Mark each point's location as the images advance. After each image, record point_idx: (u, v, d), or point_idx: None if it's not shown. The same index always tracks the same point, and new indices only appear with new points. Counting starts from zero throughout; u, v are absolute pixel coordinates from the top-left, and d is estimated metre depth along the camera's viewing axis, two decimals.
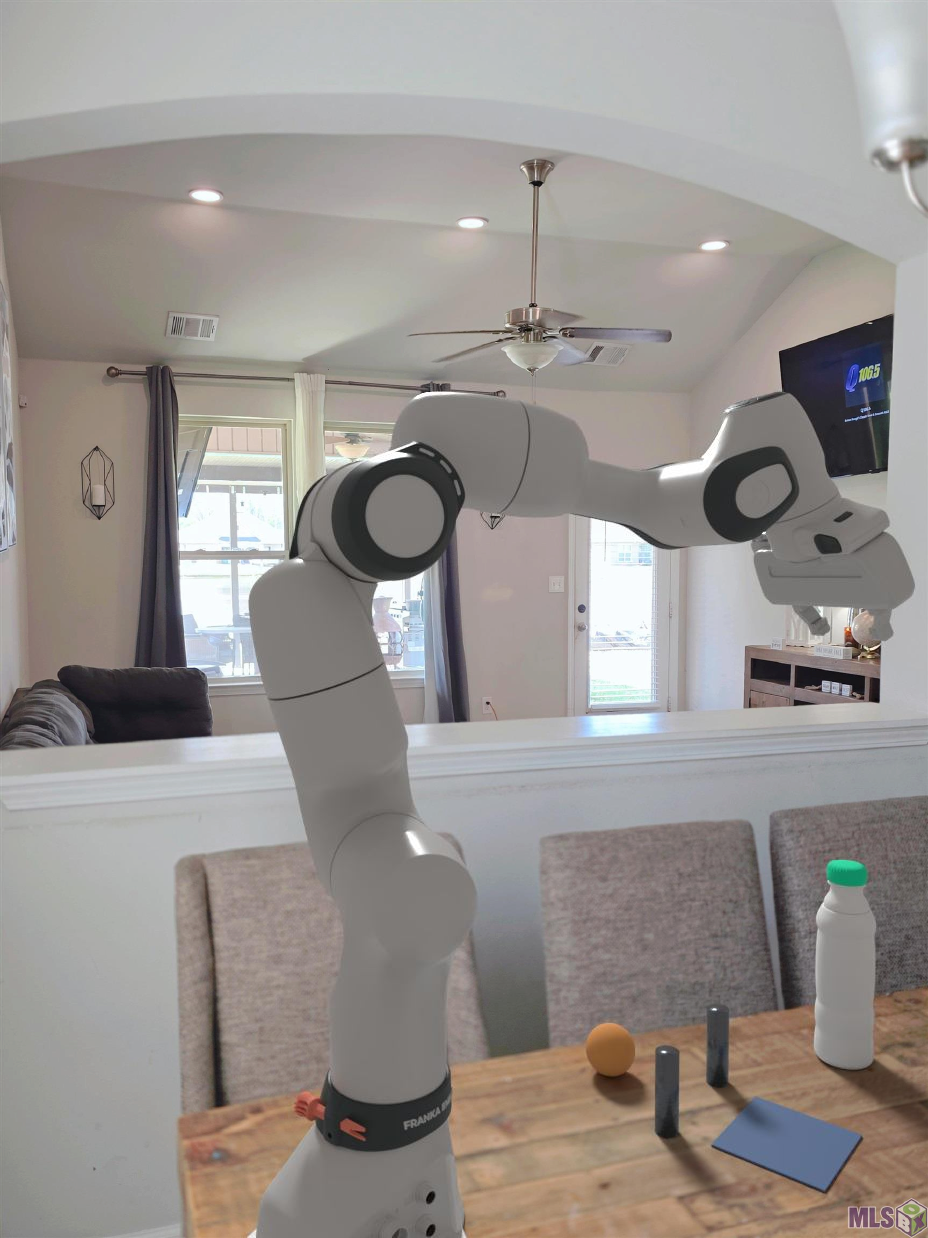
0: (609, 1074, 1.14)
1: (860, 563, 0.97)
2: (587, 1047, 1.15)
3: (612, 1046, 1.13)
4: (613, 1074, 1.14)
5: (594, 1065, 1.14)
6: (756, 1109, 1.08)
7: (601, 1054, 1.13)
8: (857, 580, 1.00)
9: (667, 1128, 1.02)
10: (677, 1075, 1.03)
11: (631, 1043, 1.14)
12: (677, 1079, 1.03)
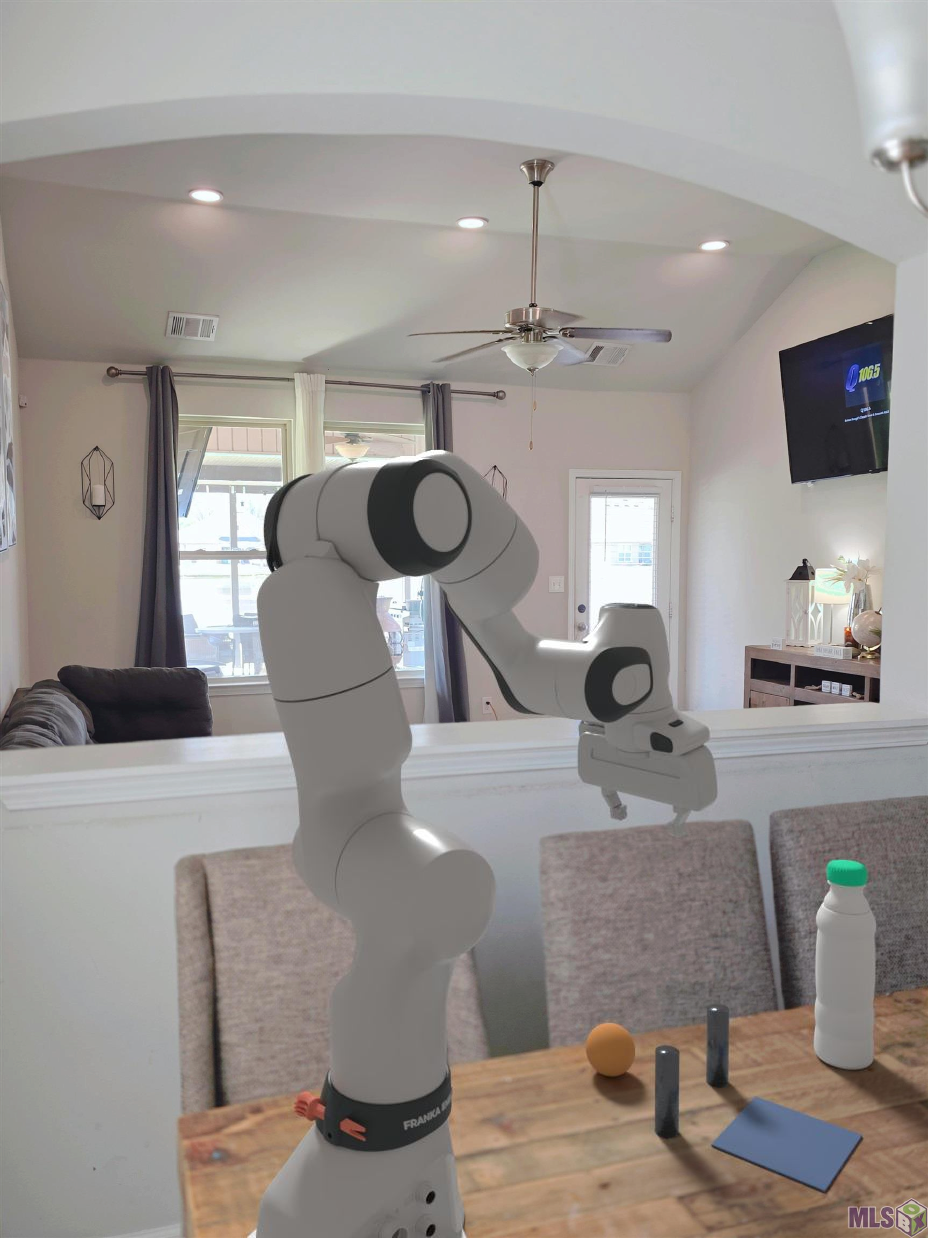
0: (609, 1074, 1.14)
1: (684, 766, 1.13)
2: (587, 1047, 1.15)
3: (612, 1046, 1.13)
4: (613, 1074, 1.14)
5: (594, 1065, 1.14)
6: (756, 1109, 1.08)
7: (601, 1054, 1.13)
8: (674, 780, 1.16)
9: (667, 1128, 1.02)
10: (677, 1075, 1.03)
11: (631, 1043, 1.14)
12: (677, 1079, 1.03)
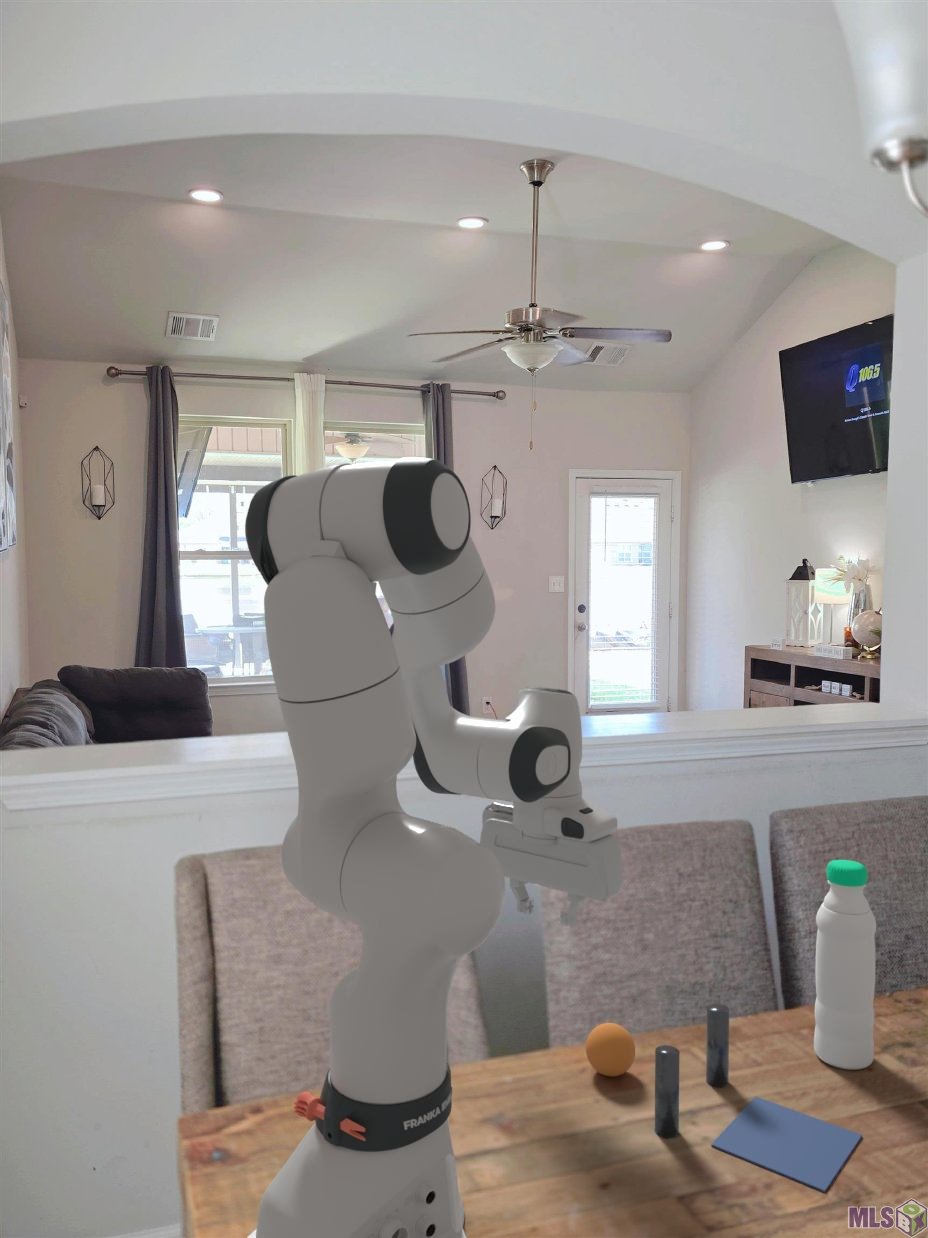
0: (609, 1074, 1.14)
1: (593, 853, 1.13)
2: (587, 1047, 1.15)
3: (612, 1046, 1.13)
4: (613, 1074, 1.14)
5: (594, 1065, 1.14)
6: (756, 1109, 1.08)
7: (601, 1054, 1.13)
8: (581, 868, 1.15)
9: (667, 1128, 1.02)
10: (677, 1075, 1.03)
11: (631, 1043, 1.14)
12: (677, 1079, 1.03)
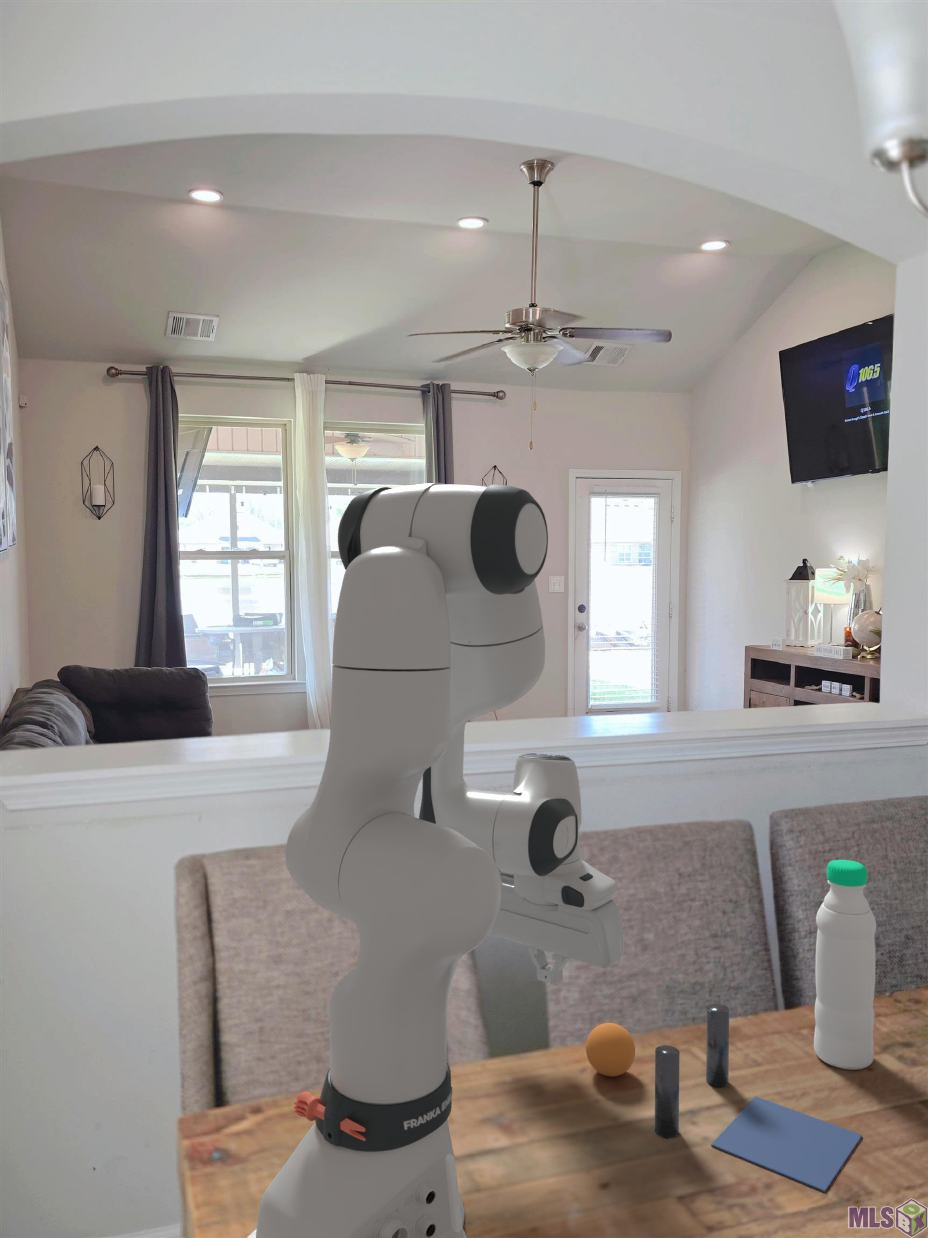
0: (609, 1074, 1.14)
1: (594, 921, 1.14)
2: (587, 1047, 1.15)
3: (612, 1046, 1.13)
4: (613, 1074, 1.14)
5: (594, 1065, 1.14)
6: (756, 1109, 1.08)
7: (601, 1054, 1.13)
8: (582, 935, 1.16)
9: (667, 1128, 1.02)
10: (677, 1075, 1.03)
11: (631, 1043, 1.14)
12: (677, 1079, 1.03)
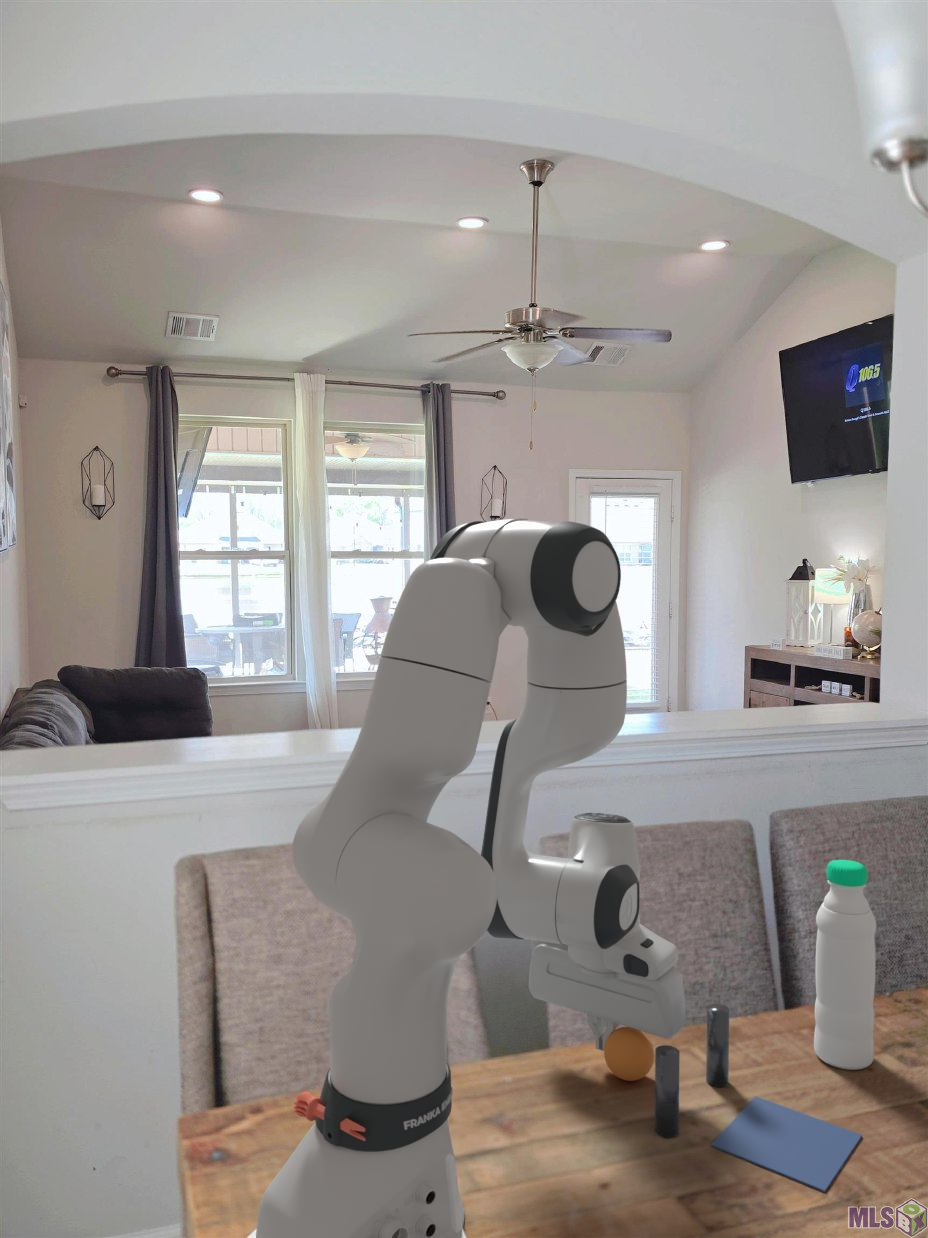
0: (621, 1077, 1.13)
1: (659, 991, 1.10)
2: (607, 1045, 1.14)
3: (632, 1053, 1.12)
4: (625, 1079, 1.13)
5: (609, 1064, 1.13)
6: (756, 1109, 1.08)
7: (619, 1058, 1.12)
8: (644, 1004, 1.12)
9: (667, 1128, 1.02)
10: (677, 1075, 1.03)
11: (652, 1056, 1.13)
12: (677, 1079, 1.03)
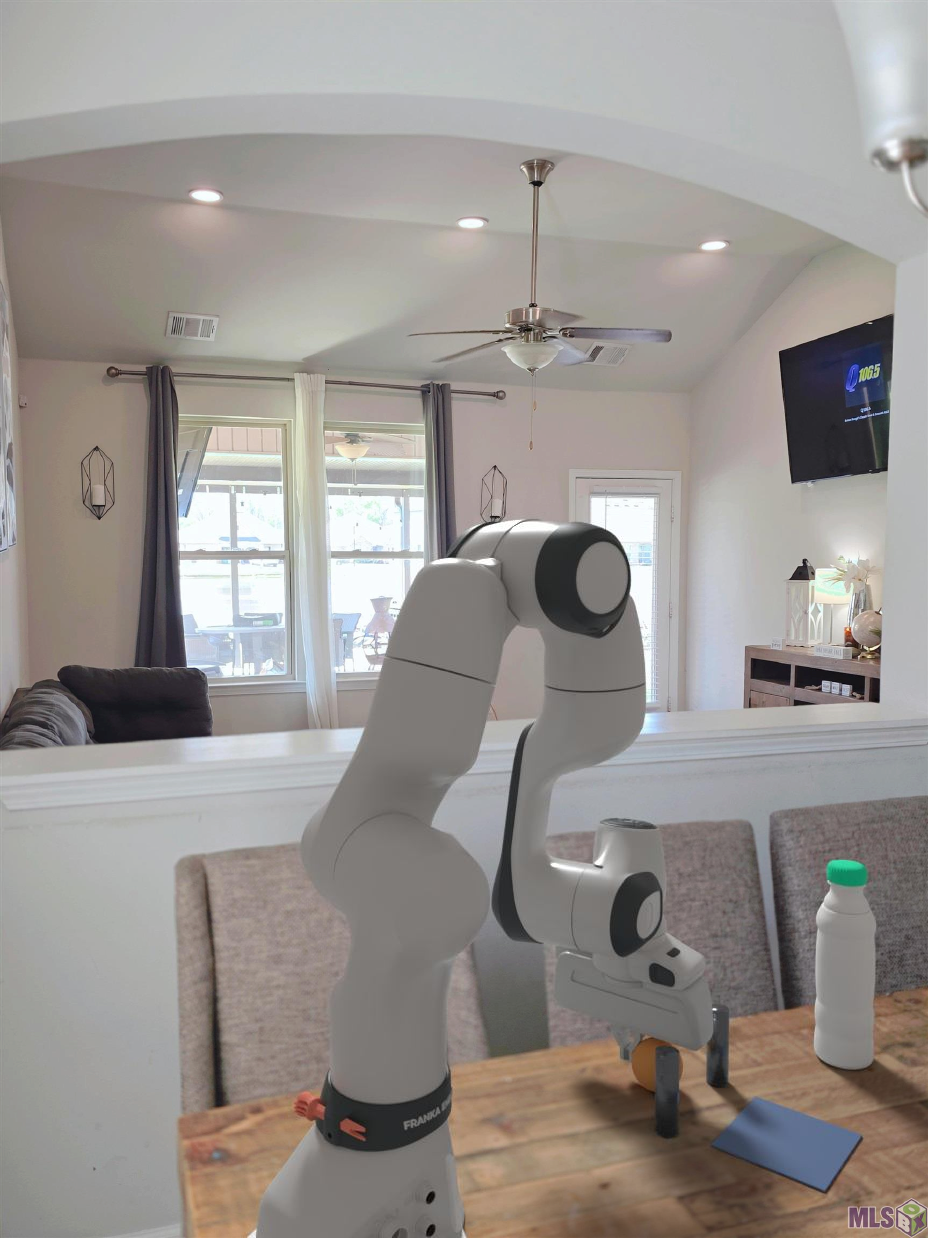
0: (650, 1089, 1.10)
1: (685, 1002, 1.07)
2: (635, 1056, 1.12)
3: None
4: None
5: (638, 1076, 1.11)
6: (756, 1109, 1.08)
7: (649, 1069, 1.10)
8: (670, 1015, 1.09)
9: (667, 1128, 1.02)
10: (677, 1075, 1.03)
11: (681, 1066, 1.11)
12: (677, 1079, 1.03)
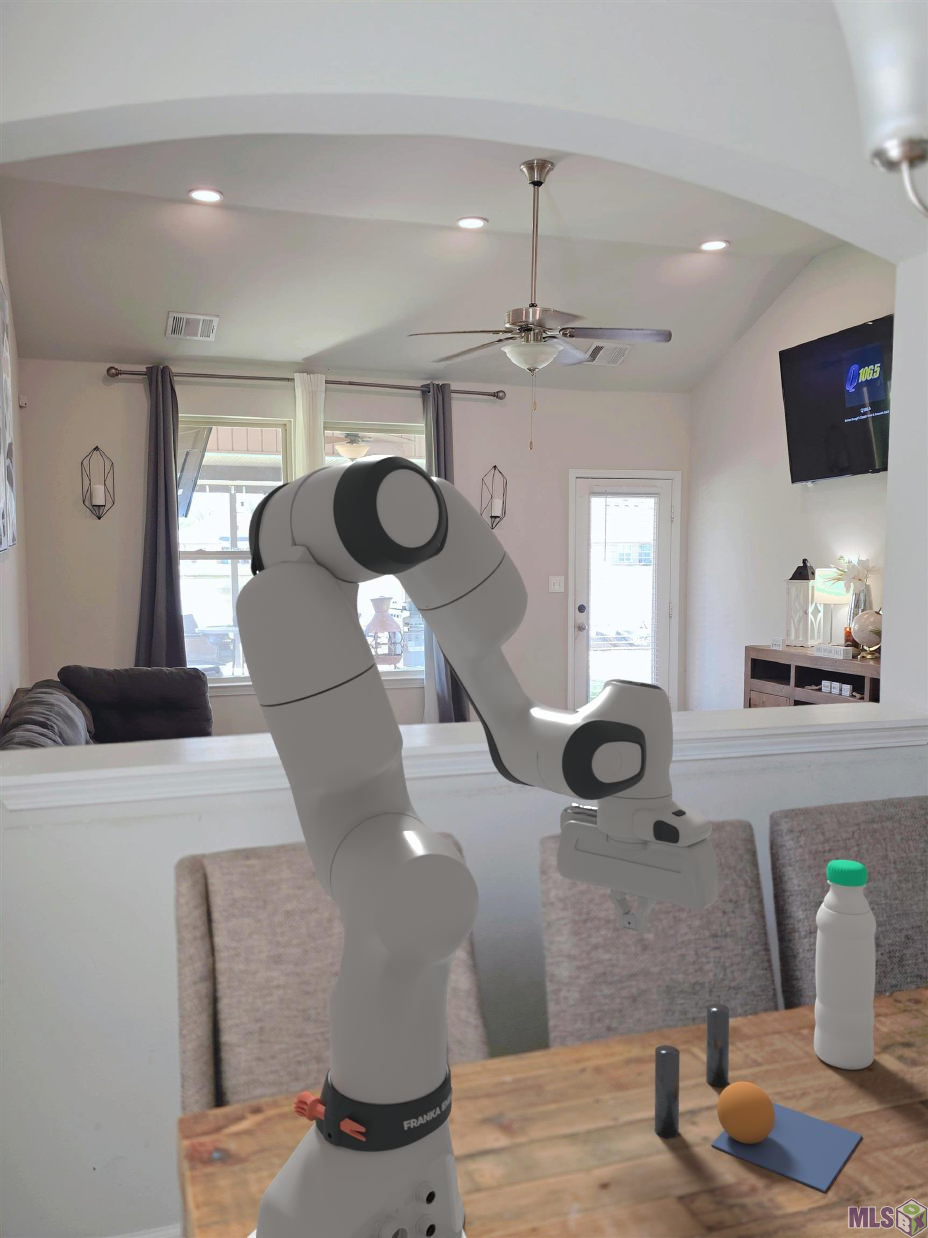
0: (741, 1105, 1.00)
1: (690, 859, 1.05)
2: (729, 1134, 1.01)
3: None
4: (742, 1100, 1.00)
5: (734, 1122, 1.00)
6: None
7: (720, 1110, 1.02)
8: (674, 875, 1.07)
9: (667, 1128, 1.02)
10: (677, 1075, 1.03)
11: None
12: (677, 1079, 1.03)
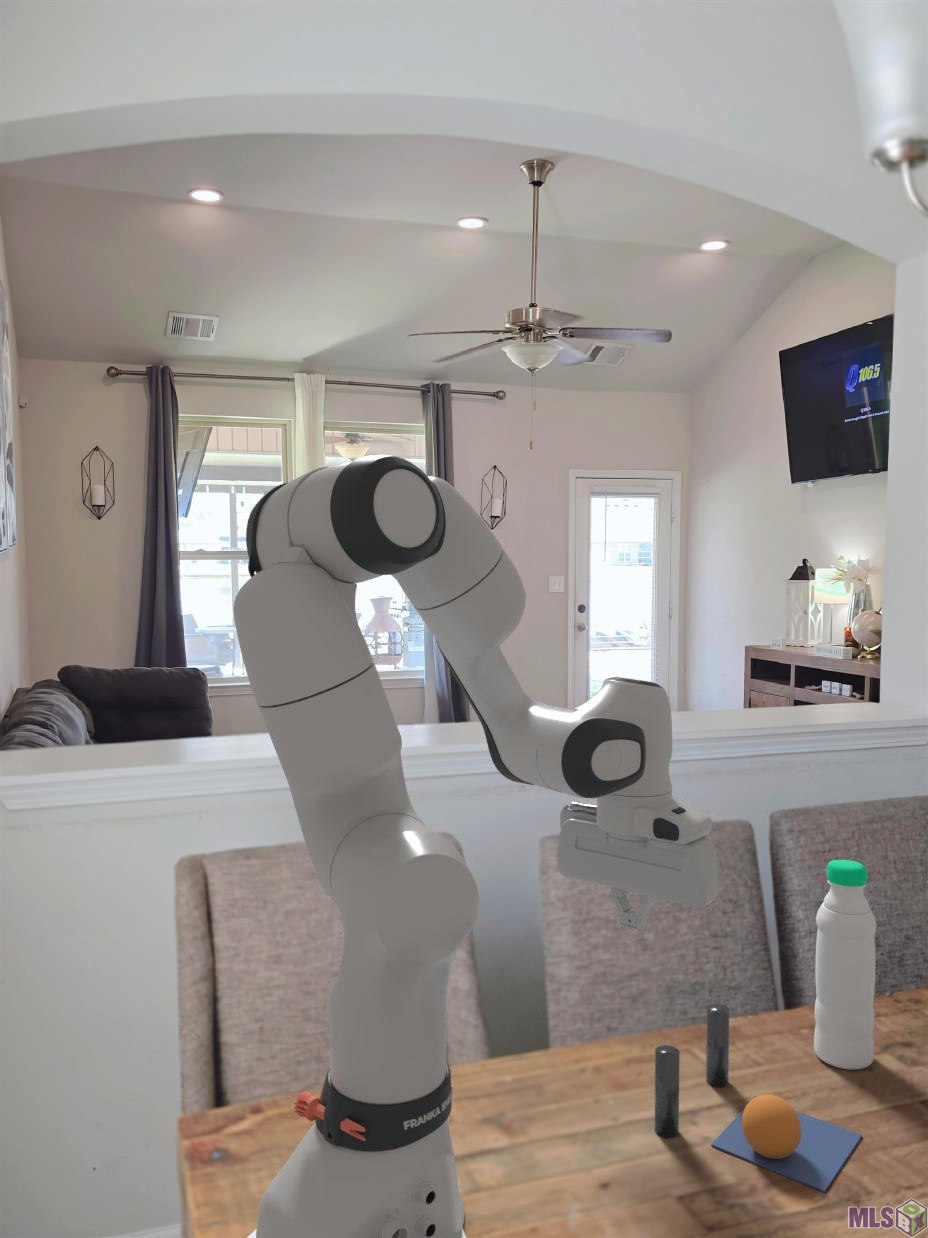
0: (777, 1142, 0.97)
1: (690, 856, 1.05)
2: (744, 1133, 0.99)
3: (760, 1105, 0.99)
4: (781, 1140, 0.97)
5: (758, 1143, 0.97)
6: None
7: (754, 1120, 0.98)
8: (674, 872, 1.07)
9: (667, 1128, 1.02)
10: (677, 1075, 1.03)
11: (784, 1100, 1.00)
12: (677, 1079, 1.03)
